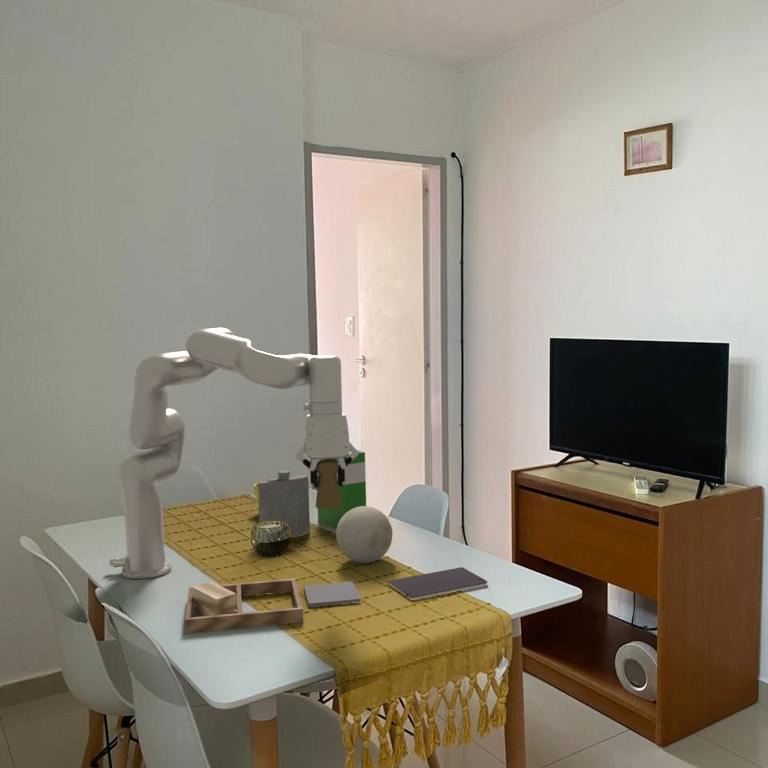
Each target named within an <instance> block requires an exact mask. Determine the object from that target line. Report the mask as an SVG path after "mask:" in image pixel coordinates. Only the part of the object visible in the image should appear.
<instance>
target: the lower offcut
mask: <svg viewBox="0 0 768 768" xmlns="http://www.w3.org/2000/svg"><path fill="white" fill-rule="evenodd" d="M194 607H195V608H196V609H197V611H198V612H199V613H200V615H201V617H203V616H213V615H224V614H235V613H237V608H236V607H235V608H231V609H228V610H224V611H221V612H218V613H216V612H215V611H213V610H211V609H209V608H207V607H205V606H204V605H202V604H200V603H198V602H196V601H194Z"/></svg>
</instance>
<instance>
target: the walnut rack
mask: <svg viewBox="0 0 768 768" xmlns="http://www.w3.org/2000/svg"><path fill="white" fill-rule="evenodd" d="M218 585H219V586H221V587H224V588H226V589H228V590H230V591H232V592H234V593H236V598H237V607H236V610H237V613H235V614H224V615H213V616H193V613H194V612H193V611H194V606H195V601H194V600H193V599H192V587H193V586H192V587H188V591H187V592H188V593H187V594H188V595H187V601H186V609H185V615H184V616H185V618H184V626H185V627H184V629H185V630H184V631H185V634H193V633H195V634H196V633H205V632H216V631H226V630H235V629H236V630H238V629H246V628H256V627H267V626H268V627H269V626H278V625H288V623H289V624H298V623H304V607H303V604H302V600H301V597H300V592H299V589H298V588H299V587H298V585H297V580H296V578H284V579H274V580H271V579H270V580H263V581H262V580H261V581H252V582H241V583H228V584H218ZM282 592H289V593H291V594H292V595H293V596H292V600H293V599H294V600H293V603H294V607H290V608H282V609H281V608H280V609H278V608H277V609H270V610H269V609H268V610H259V611H258V610H257V611H247V612H243V604H242V602H243V601H242V597H241V596H244V595H256V594H266V593H278V594H283V593H282ZM256 596H257V595H256ZM244 597H245V596H244Z"/></svg>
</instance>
